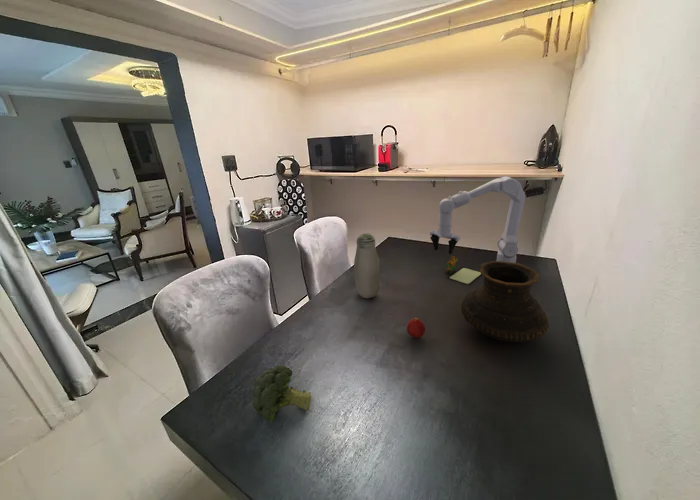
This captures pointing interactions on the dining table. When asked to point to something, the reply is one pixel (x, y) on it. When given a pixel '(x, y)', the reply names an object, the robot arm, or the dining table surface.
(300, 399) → the vegetable
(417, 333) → the onion
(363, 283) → the glass bottle
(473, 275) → the felt mat
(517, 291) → the ceramic pot
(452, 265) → the figurine
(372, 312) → the dining table surface
